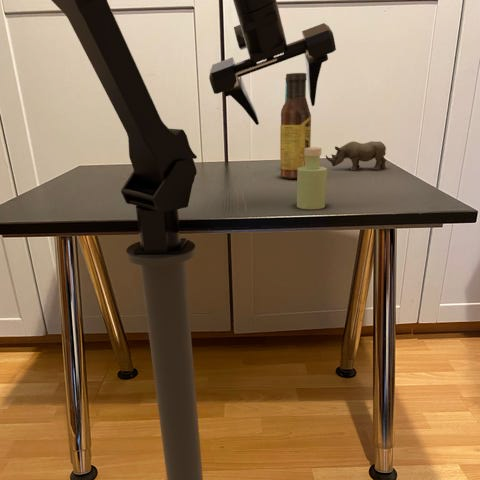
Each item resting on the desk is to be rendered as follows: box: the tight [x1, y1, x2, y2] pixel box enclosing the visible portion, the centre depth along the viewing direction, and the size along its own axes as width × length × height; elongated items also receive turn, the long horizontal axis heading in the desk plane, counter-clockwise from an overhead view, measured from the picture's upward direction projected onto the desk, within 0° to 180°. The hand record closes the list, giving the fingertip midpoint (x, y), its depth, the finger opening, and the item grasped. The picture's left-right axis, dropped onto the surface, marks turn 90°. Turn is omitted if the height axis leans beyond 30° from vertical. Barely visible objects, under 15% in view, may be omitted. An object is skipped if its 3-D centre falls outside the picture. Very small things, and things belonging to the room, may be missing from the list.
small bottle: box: [296, 146, 328, 210], centre depth 77 cm, size 5×5×9 cm
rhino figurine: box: [325, 140, 387, 171], centre depth 108 cm, size 4×14×6 cm, turn 84°
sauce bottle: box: [279, 72, 312, 180], centre depth 98 cm, size 7×6×20 cm
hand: (285, 114), depth 77 cm, fingers open, 9 cm apart
